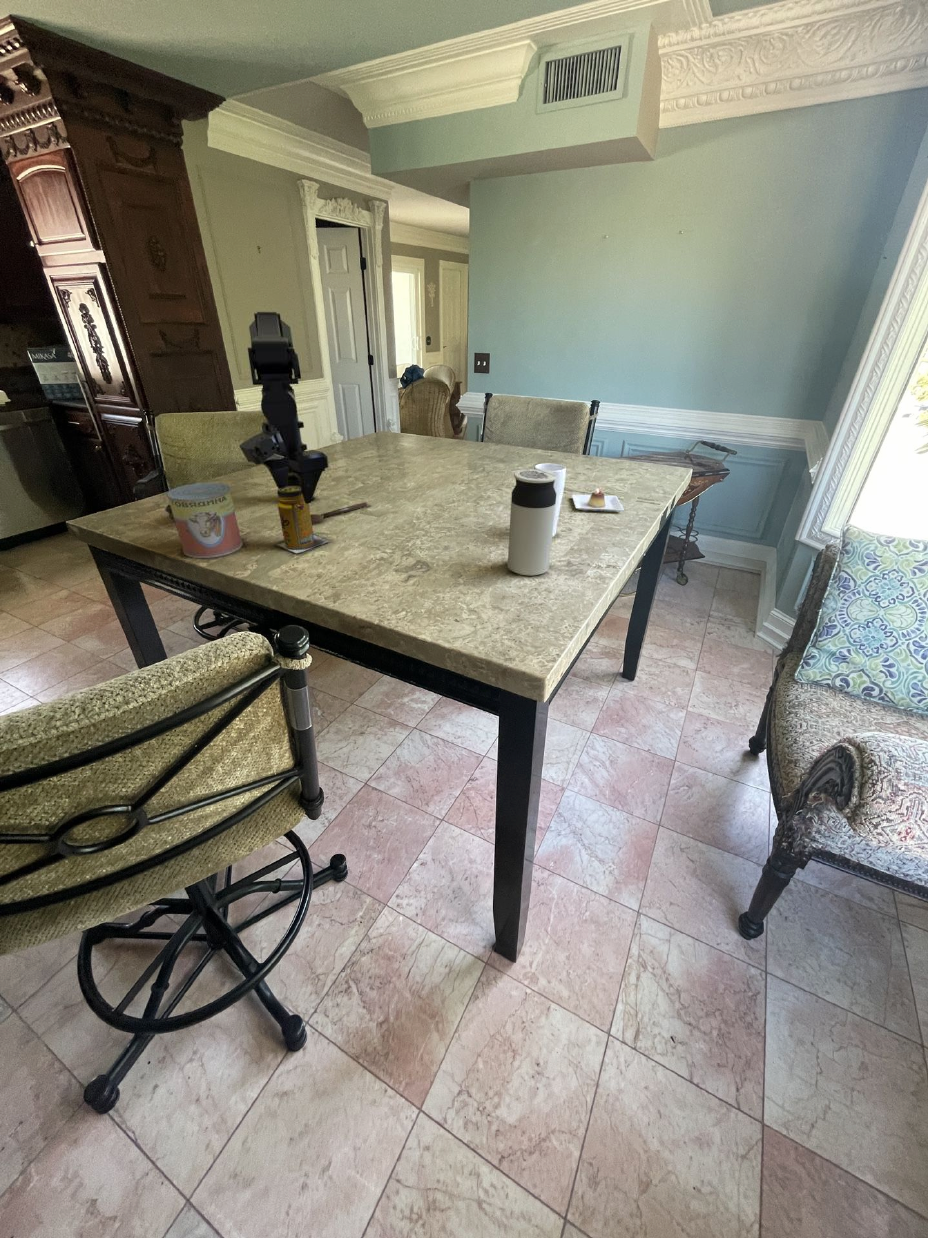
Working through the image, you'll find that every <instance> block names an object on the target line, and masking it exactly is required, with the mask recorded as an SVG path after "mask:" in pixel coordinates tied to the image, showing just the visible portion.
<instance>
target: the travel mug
mask: <svg viewBox="0 0 928 1238" xmlns="http://www.w3.org/2000/svg"><path fill="white" fill-rule="evenodd" d="M513 477H514V479H515V486H514V487H513V489H512V491H511V497H510V498H511V499H510V514H509V515H510V518H509V533H508V536H509V537H508V550H507V568H508V569H509V570H510V571H511V572H513V573H516V574H518V575H522V576H528V577H529V576H539V575H542V574H545V573H546V572H548V571H549V568H550V559H551V551H552V541H553V537H552V533H553V523H554V514H555V504H556V492H555V489H554V487H553V486H554V482H555V480H556V478H557V476H556V474H554V473H552V472H549V471H544V470H534V469H521V470H518V471H516V472H515V473H514V474H513Z"/></svg>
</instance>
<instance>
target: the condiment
mask: <svg viewBox="0 0 928 1238" xmlns="http://www.w3.org/2000/svg"><path fill="white" fill-rule="evenodd" d="M276 492H277V493H276V494H277V497H278V498H277V500H278V503H277V509H278V514H279V515H278V516H279V519H280V525H281V532H282V536H283V541H284V542H282V543H278V544H276V545H277V546H279V547H281V548H283V549H285V550H287V551H290V552H292V553H295V554H299V553H302V552H306V551H309V550H311V549H315V548H316V547H318V546H321V545H325V544H326V543H329V542H331V540H329V539H328V540H327V539H325V538H322V537H319V536H317V535H314V530H313V524H312V522H311V516H310V515H311V510H310V509H311V508H310V503H308V504H306V503H305V501H304V498H303V495H302V491H301V487H299V486H287V487H283V488H280V489H277V491H276Z"/></svg>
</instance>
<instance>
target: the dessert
mask: <svg viewBox="0 0 928 1238" xmlns="http://www.w3.org/2000/svg"><path fill="white" fill-rule="evenodd" d="M571 497H572V500H573V501H572V502H573V503H574V507H575V509H577V510H579V511H584V512H585V511H586V512H608V513H609V512H610V513H617V512H622V511H624V510H625V509H624V506H623V505H622V503H621V501H620V500H619V497H618V495H605V493H604V492H602V490H601V489H599V487H596V488H595V489H594V490H593V492H591V494H581V493H579V494H577V493H576V494H575V493H571Z"/></svg>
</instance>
